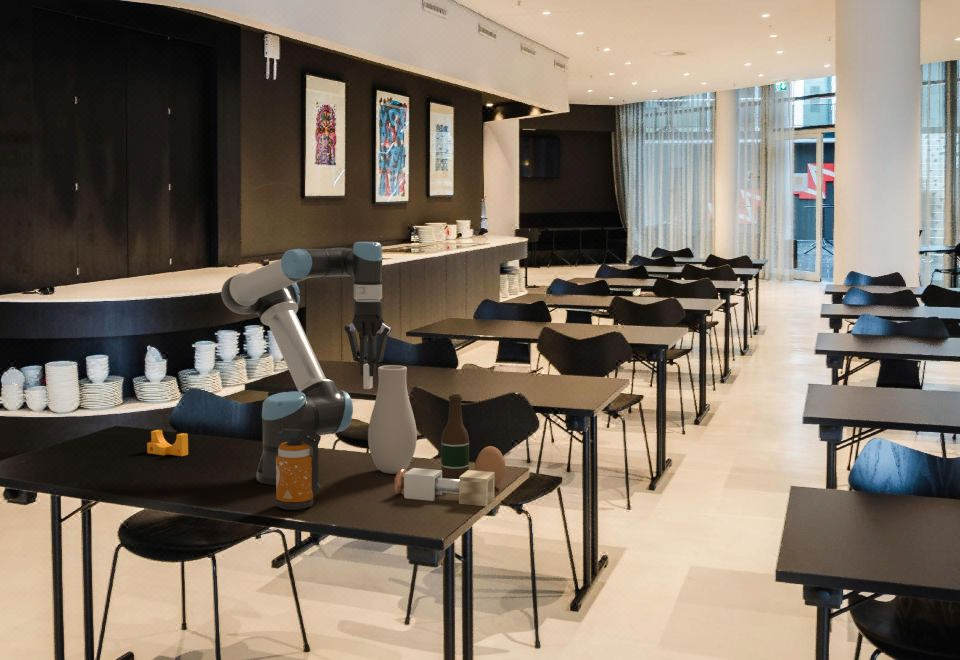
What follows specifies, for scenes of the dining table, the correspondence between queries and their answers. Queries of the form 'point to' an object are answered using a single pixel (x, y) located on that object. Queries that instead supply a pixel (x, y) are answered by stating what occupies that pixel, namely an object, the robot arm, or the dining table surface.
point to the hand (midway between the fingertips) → (368, 388)
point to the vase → (392, 422)
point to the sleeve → (421, 484)
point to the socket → (476, 488)
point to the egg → (491, 463)
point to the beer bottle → (454, 442)
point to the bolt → (440, 483)
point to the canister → (297, 469)
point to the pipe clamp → (167, 444)
